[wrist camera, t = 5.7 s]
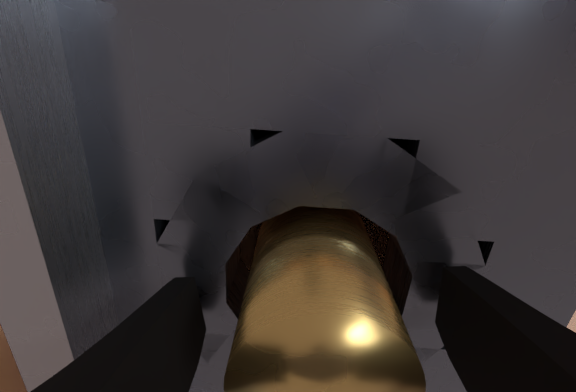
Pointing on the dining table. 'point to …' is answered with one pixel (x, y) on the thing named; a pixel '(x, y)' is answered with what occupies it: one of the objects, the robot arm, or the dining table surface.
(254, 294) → the cylinder
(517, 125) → the jig
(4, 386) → the dining table surface
